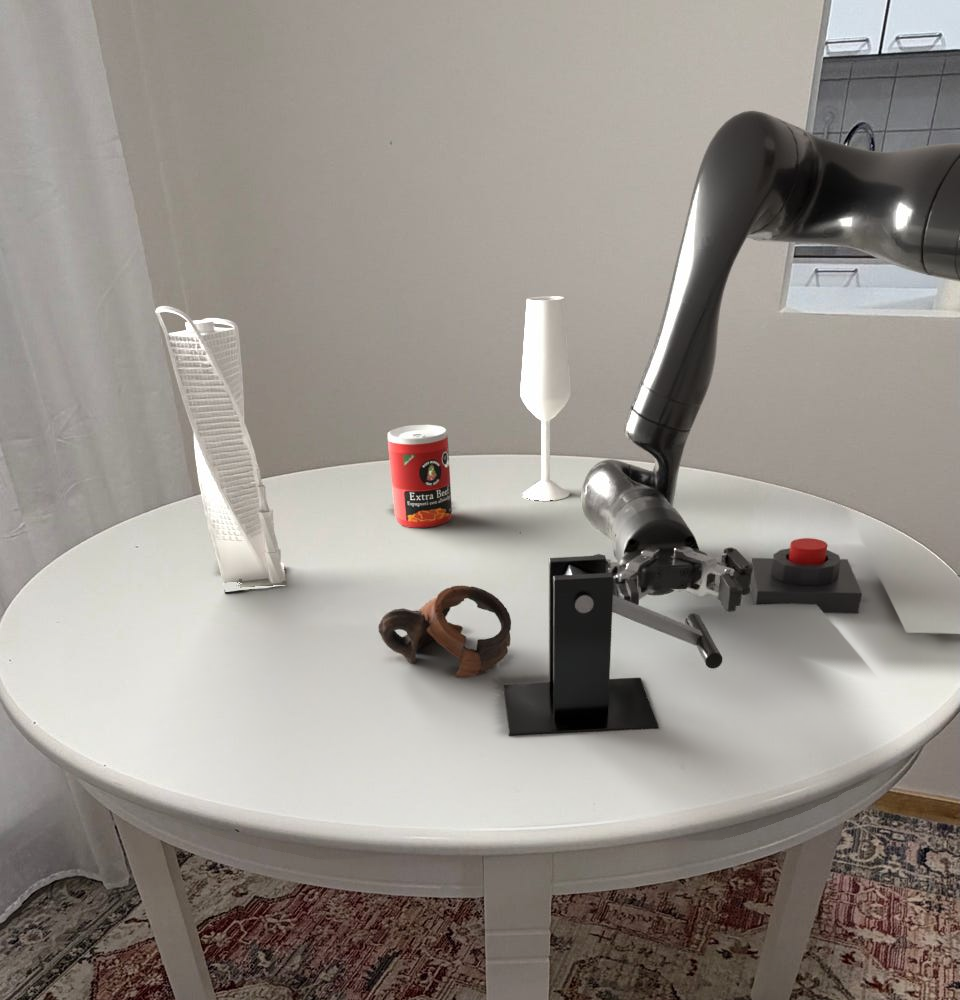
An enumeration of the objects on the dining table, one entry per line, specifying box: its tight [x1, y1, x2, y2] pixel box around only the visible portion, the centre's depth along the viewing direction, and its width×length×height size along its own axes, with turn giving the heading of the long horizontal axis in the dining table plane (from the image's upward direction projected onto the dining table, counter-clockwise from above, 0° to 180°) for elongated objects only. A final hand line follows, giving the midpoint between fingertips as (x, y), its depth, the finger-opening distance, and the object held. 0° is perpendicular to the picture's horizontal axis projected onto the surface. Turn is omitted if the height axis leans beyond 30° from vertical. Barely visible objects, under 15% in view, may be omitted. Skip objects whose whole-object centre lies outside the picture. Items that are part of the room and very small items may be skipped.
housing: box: [750, 547, 863, 614], centre depth 99 cm, size 10×10×4 cm
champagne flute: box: [519, 295, 572, 502], centre depth 127 cm, size 7×7×24 cm
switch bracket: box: [503, 554, 660, 737], centre depth 76 cm, size 12×9×13 cm
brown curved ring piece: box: [378, 585, 512, 678], centre depth 87 cm, size 12×10×8 cm
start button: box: [788, 537, 828, 565], centre depth 97 cm, size 4×4×2 cm
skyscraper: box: [155, 305, 287, 588], centre depth 103 cm, size 8×8×28 cm
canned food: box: [387, 424, 453, 529], centre depth 124 cm, size 8×8×11 cm
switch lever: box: [564, 565, 723, 670], centre depth 75 cm, size 13×8×2 cm, turn 91°
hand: (683, 603), depth 83 cm, fingers open, 8 cm apart
